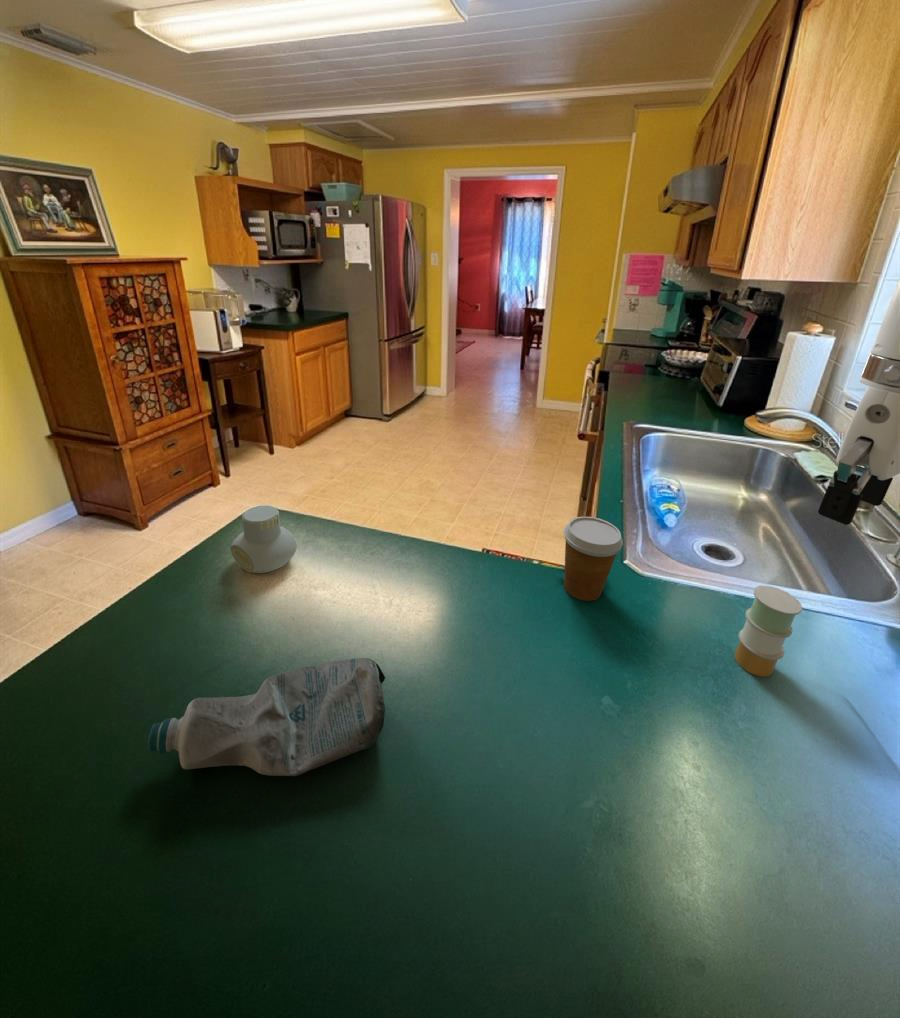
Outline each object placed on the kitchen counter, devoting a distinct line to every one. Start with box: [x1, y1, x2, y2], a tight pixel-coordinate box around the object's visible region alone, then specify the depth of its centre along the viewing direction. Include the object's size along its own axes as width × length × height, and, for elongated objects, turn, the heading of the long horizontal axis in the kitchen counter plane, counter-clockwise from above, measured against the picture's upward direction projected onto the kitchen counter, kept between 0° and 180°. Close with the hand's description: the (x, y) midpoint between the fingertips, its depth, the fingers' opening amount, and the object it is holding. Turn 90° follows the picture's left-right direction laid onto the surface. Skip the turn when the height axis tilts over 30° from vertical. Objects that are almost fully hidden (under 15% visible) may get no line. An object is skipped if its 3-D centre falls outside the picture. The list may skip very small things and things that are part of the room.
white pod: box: [741, 607, 793, 656], centre depth 67 cm, size 6×6×4 cm
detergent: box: [147, 657, 386, 777], centre depth 53 cm, size 13×7×25 cm
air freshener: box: [230, 504, 298, 574], centre depth 82 cm, size 11×8×10 cm
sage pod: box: [749, 585, 803, 634], centre depth 65 cm, size 6×6×4 cm
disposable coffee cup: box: [563, 516, 624, 602], centre depth 80 cm, size 10×10×12 cm
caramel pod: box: [734, 629, 785, 678], centre depth 68 cm, size 6×6×4 cm
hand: (849, 509), depth 59 cm, fingers open, 9 cm apart
